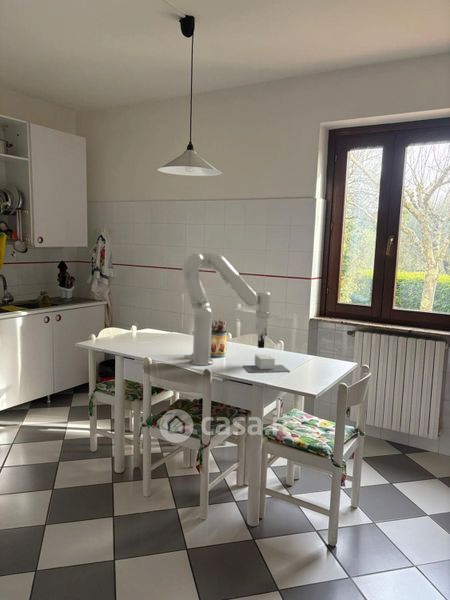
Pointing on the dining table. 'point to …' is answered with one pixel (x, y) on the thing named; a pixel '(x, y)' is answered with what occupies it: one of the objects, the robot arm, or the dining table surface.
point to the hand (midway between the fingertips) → (260, 347)
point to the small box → (264, 361)
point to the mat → (257, 370)
